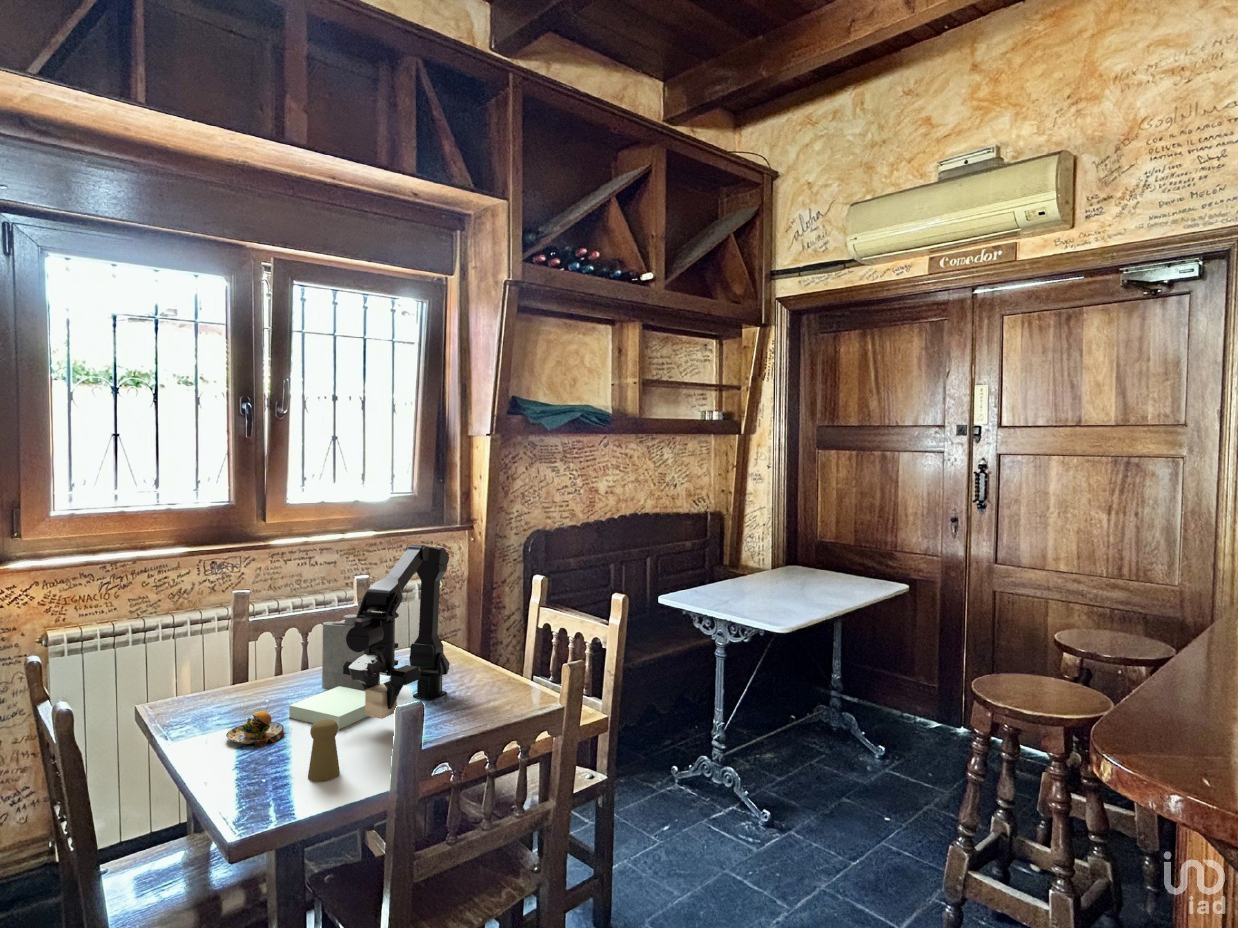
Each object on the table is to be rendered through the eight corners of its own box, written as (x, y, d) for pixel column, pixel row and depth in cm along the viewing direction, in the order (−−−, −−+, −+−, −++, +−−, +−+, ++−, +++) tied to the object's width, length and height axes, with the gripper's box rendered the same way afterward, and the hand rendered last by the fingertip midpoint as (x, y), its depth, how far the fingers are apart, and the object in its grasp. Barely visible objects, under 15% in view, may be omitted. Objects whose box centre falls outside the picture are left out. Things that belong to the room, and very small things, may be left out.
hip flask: (381, 686, 203) (382, 614, 202) (375, 691, 199) (376, 617, 198) (325, 684, 204) (326, 612, 203) (318, 689, 200) (319, 615, 199)
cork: (313, 768, 152) (313, 715, 151) (343, 768, 152) (344, 715, 152) (303, 782, 146) (303, 727, 145) (334, 781, 146) (335, 726, 146)
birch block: (380, 708, 175) (380, 683, 175) (396, 711, 173) (397, 686, 173) (365, 715, 171) (365, 689, 171) (381, 718, 169) (382, 692, 169)
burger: (228, 732, 170) (228, 700, 170) (284, 725, 175) (284, 694, 174) (223, 752, 159) (223, 718, 159) (283, 745, 164) (283, 711, 163)
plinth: (339, 697, 194) (339, 685, 193) (386, 707, 187) (386, 695, 187) (289, 717, 179) (289, 705, 179) (339, 729, 172) (339, 716, 172)
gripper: (325, 643, 168) (324, 711, 169) (389, 654, 160) (388, 725, 161) (360, 632, 178) (360, 696, 179) (422, 642, 171) (421, 709, 171)
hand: (381, 706), depth 172 cm, fingers closed on birch block, 5 cm apart
